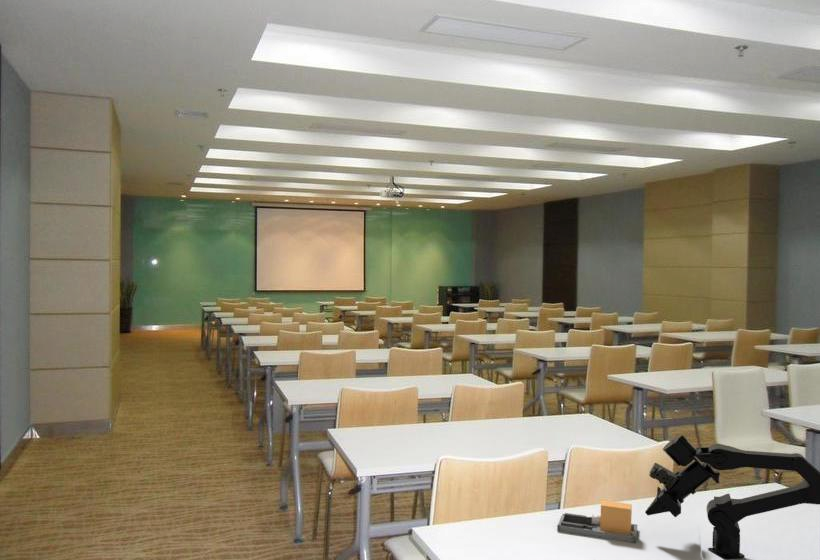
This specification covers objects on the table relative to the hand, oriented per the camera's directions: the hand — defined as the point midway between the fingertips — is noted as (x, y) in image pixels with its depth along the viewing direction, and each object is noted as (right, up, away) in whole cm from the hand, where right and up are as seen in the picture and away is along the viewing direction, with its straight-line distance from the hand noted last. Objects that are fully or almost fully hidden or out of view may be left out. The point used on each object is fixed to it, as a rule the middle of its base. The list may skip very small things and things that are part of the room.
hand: (646, 513), depth 183 cm
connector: (-8, -7, +3) cm, 11 cm away
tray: (-12, -7, +5) cm, 15 cm away
